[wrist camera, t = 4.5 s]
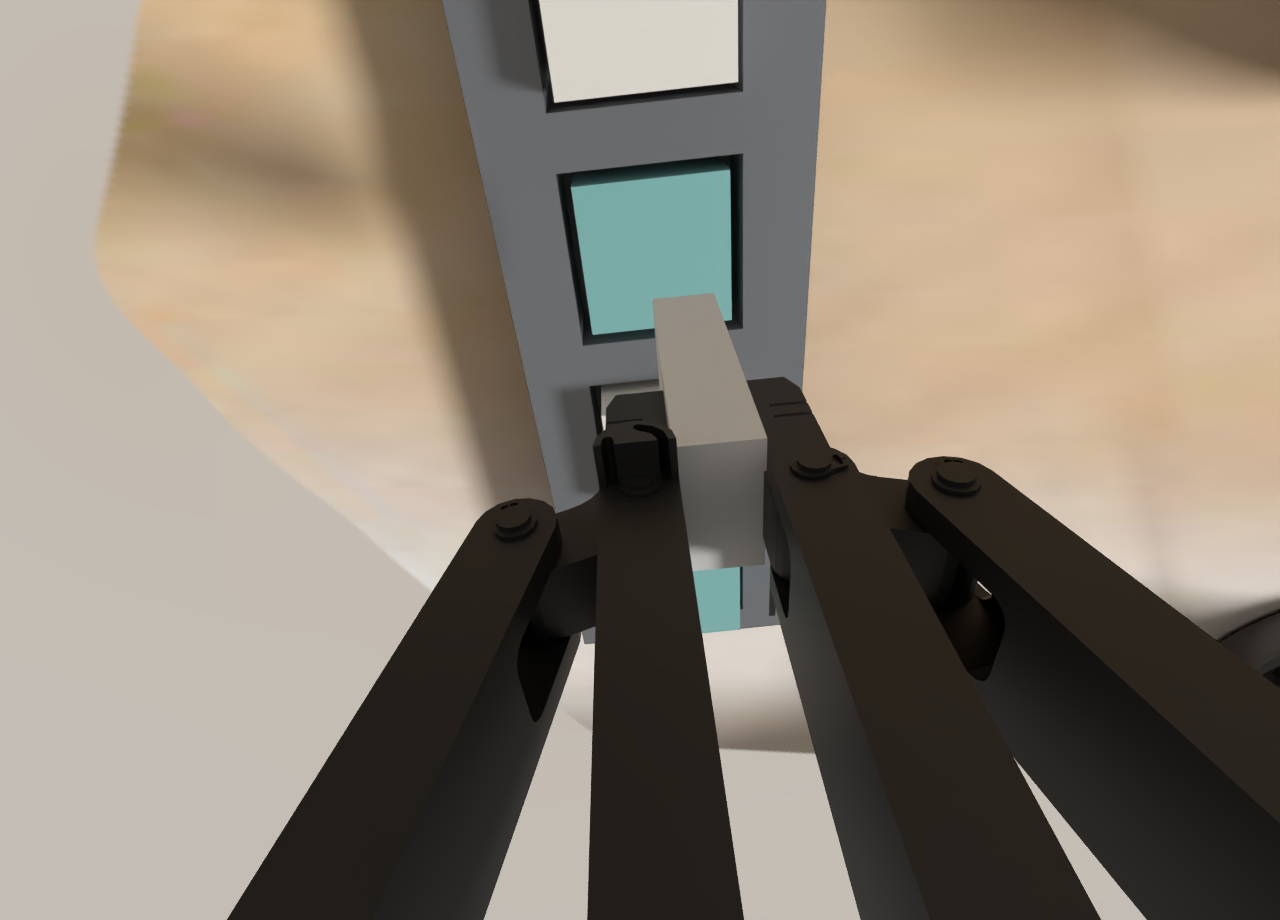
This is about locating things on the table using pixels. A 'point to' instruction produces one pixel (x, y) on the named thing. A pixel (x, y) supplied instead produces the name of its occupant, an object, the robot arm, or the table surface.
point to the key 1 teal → (718, 599)
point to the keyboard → (625, 136)
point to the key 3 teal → (652, 238)
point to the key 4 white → (638, 45)
